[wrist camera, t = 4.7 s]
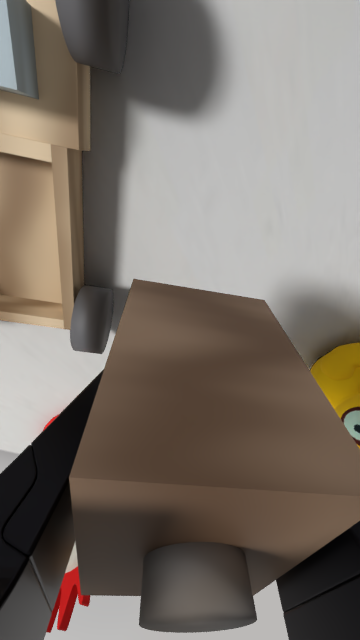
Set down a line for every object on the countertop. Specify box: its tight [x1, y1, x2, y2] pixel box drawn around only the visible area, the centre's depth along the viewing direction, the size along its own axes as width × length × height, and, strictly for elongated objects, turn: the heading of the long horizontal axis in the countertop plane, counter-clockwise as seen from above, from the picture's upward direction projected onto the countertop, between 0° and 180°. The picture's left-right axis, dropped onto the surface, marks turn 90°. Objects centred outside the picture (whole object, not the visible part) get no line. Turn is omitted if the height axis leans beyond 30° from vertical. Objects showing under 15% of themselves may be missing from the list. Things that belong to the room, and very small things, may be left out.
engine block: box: [69, 279, 360, 633], centre depth 7 cm, size 4×6×7 cm
